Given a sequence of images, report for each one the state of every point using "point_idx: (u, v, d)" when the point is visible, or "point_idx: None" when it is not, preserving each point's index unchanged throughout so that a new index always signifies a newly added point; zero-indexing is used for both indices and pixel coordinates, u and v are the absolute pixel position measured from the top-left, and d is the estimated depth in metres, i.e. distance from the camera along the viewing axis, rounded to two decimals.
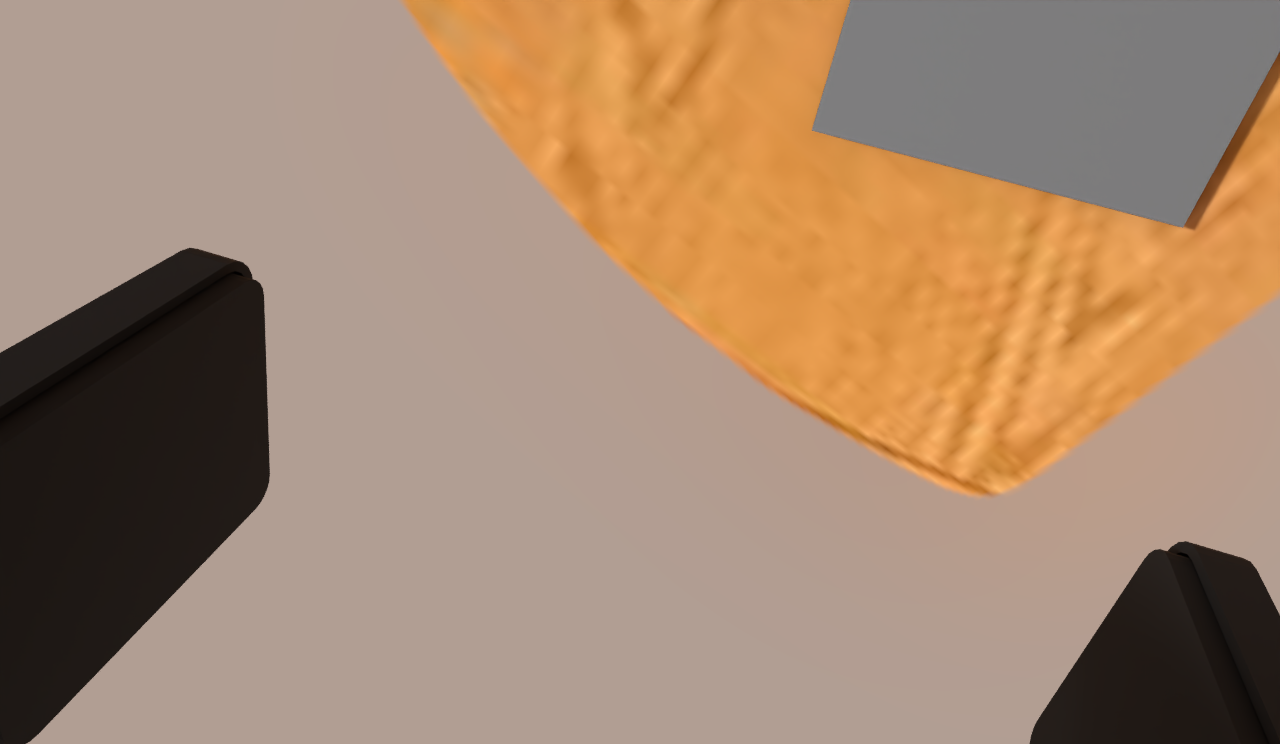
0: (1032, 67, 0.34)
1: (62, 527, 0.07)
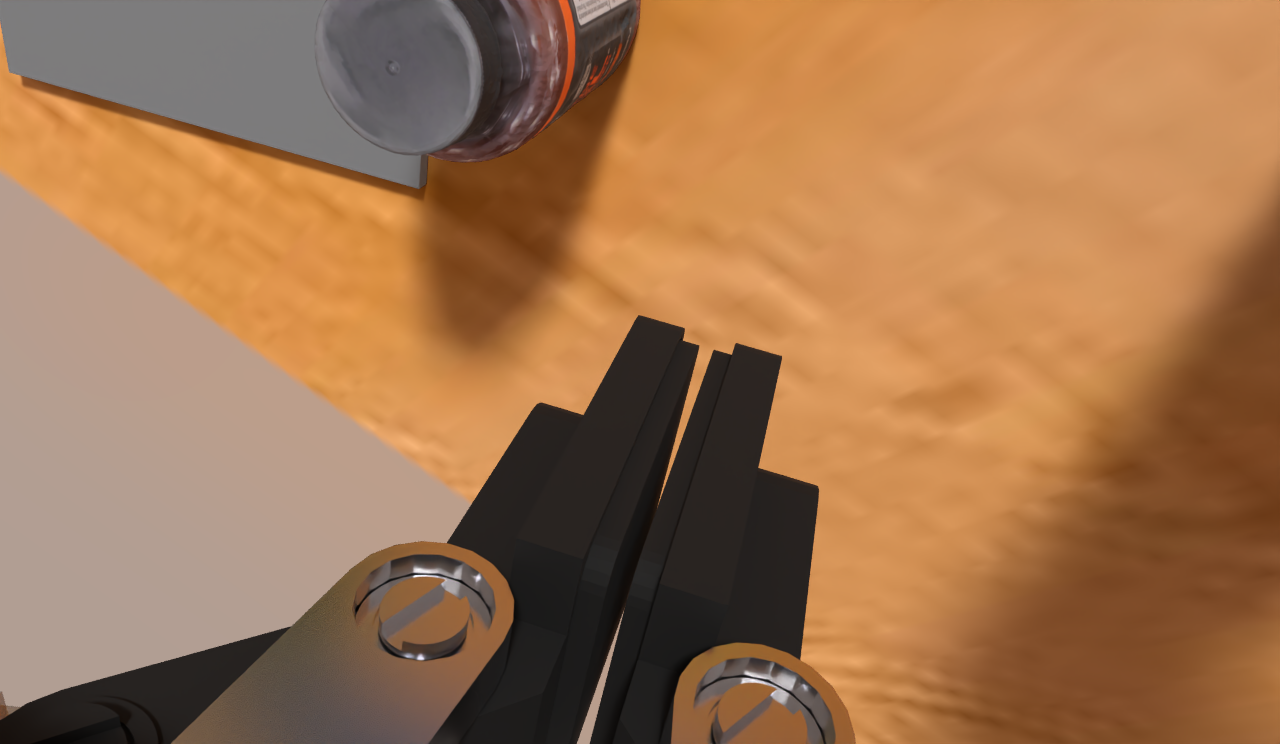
0: None
1: (617, 588, 0.08)
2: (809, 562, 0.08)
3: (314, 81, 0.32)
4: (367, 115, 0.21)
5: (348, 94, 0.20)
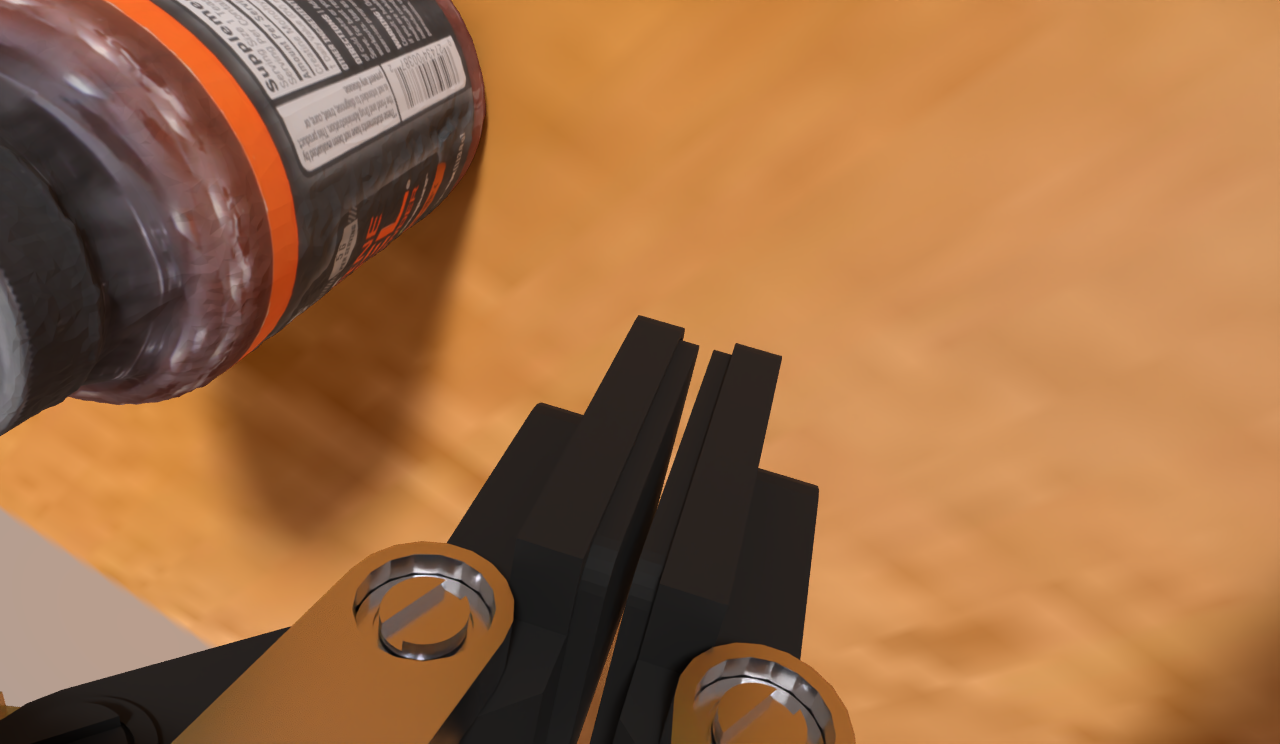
0: None
1: (617, 588, 0.08)
2: (809, 562, 0.08)
3: None
4: None
5: None
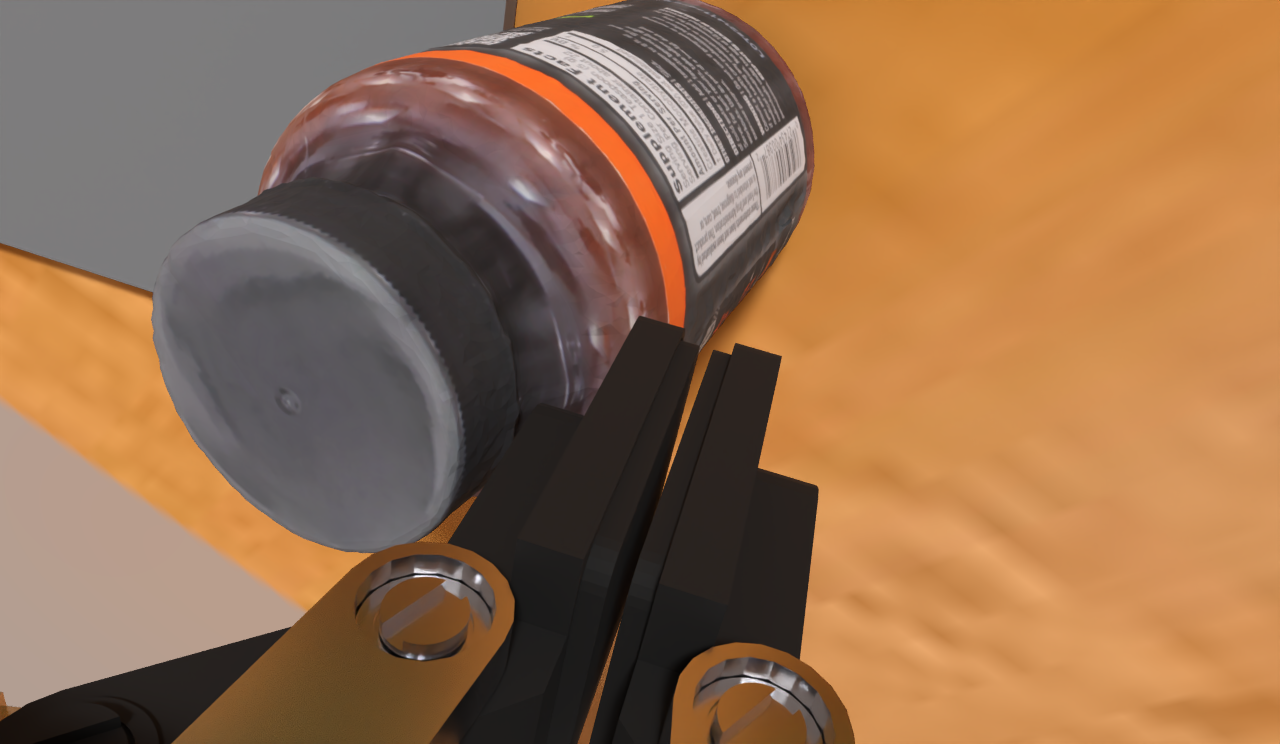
0: None
1: (617, 588, 0.08)
2: (809, 562, 0.08)
3: None
4: (248, 469, 0.10)
5: (214, 428, 0.10)
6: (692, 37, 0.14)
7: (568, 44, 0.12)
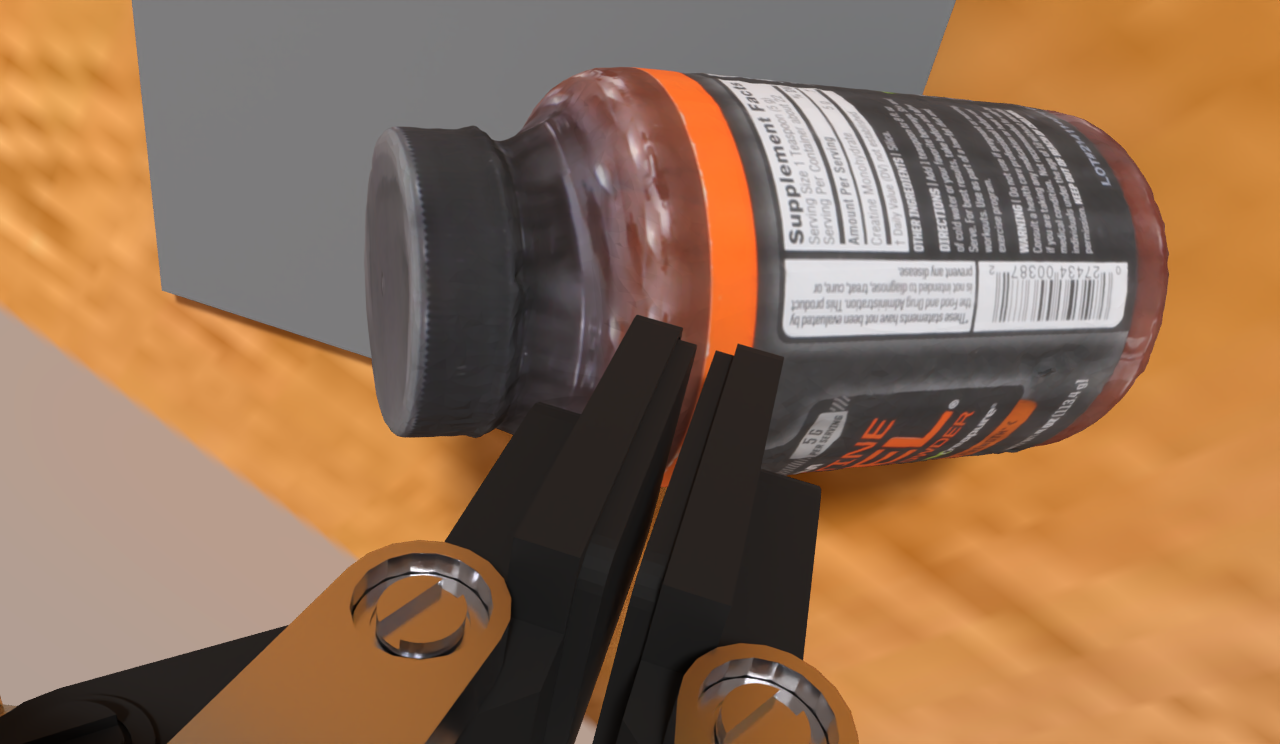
0: (308, 33, 0.20)
1: (614, 587, 0.08)
2: (811, 563, 0.08)
3: None
4: (372, 338, 0.13)
5: (368, 299, 0.13)
6: (991, 135, 0.13)
7: (793, 93, 0.12)
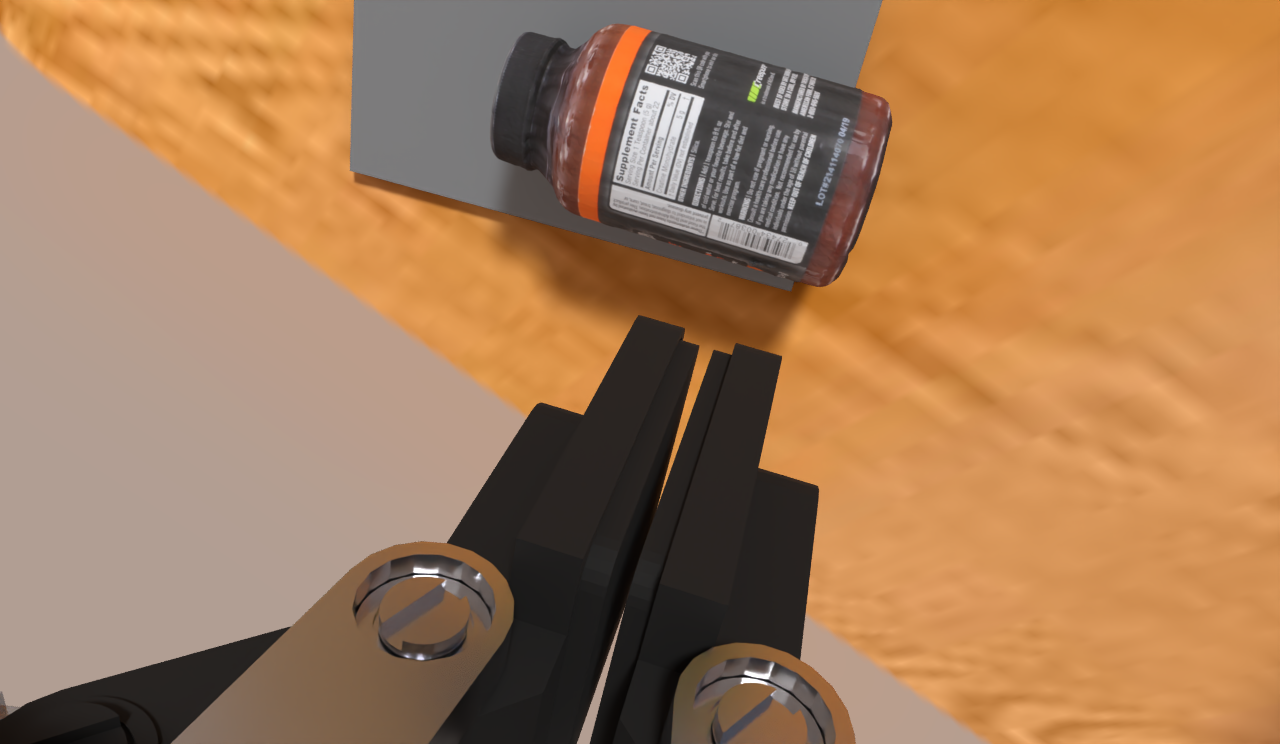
0: None
1: (616, 588, 0.08)
2: (809, 562, 0.08)
3: None
4: None
5: None
6: (767, 156, 0.25)
7: (670, 101, 0.25)
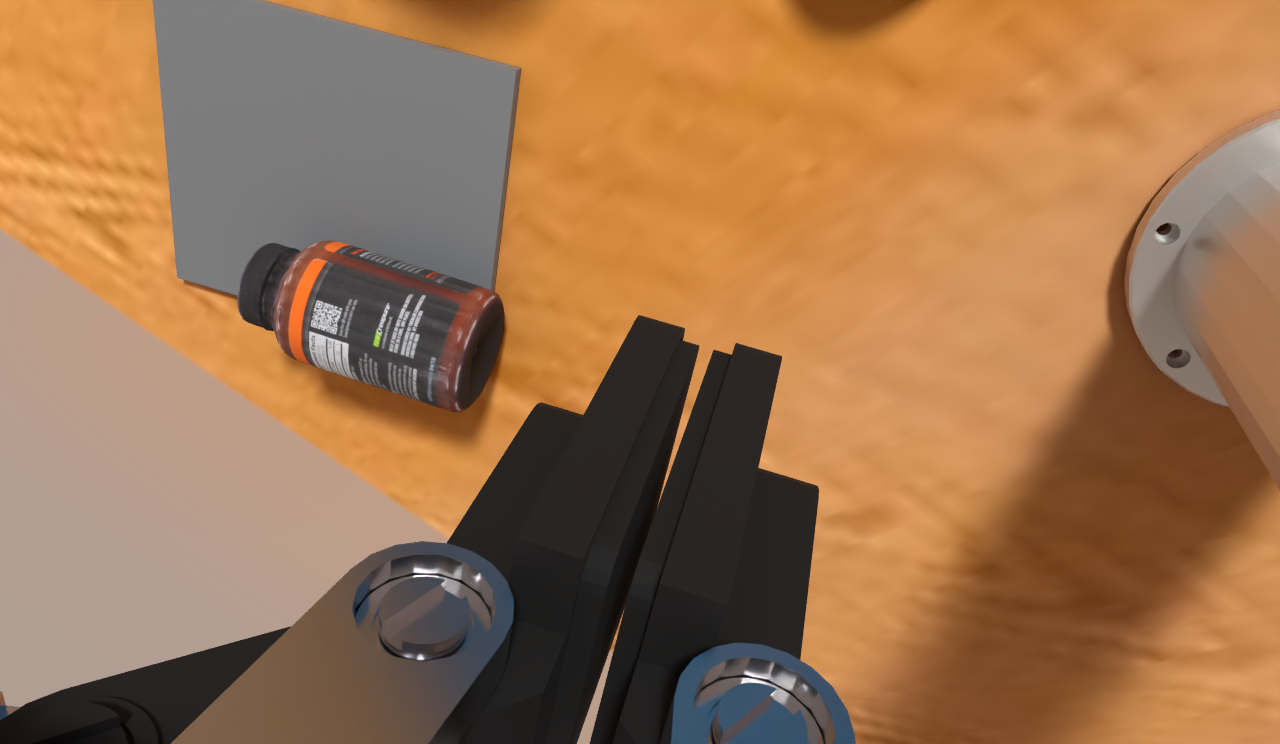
0: (247, 158, 0.43)
1: (617, 588, 0.08)
2: (809, 562, 0.08)
3: None
4: None
5: None
6: (392, 377, 0.40)
7: (329, 345, 0.40)
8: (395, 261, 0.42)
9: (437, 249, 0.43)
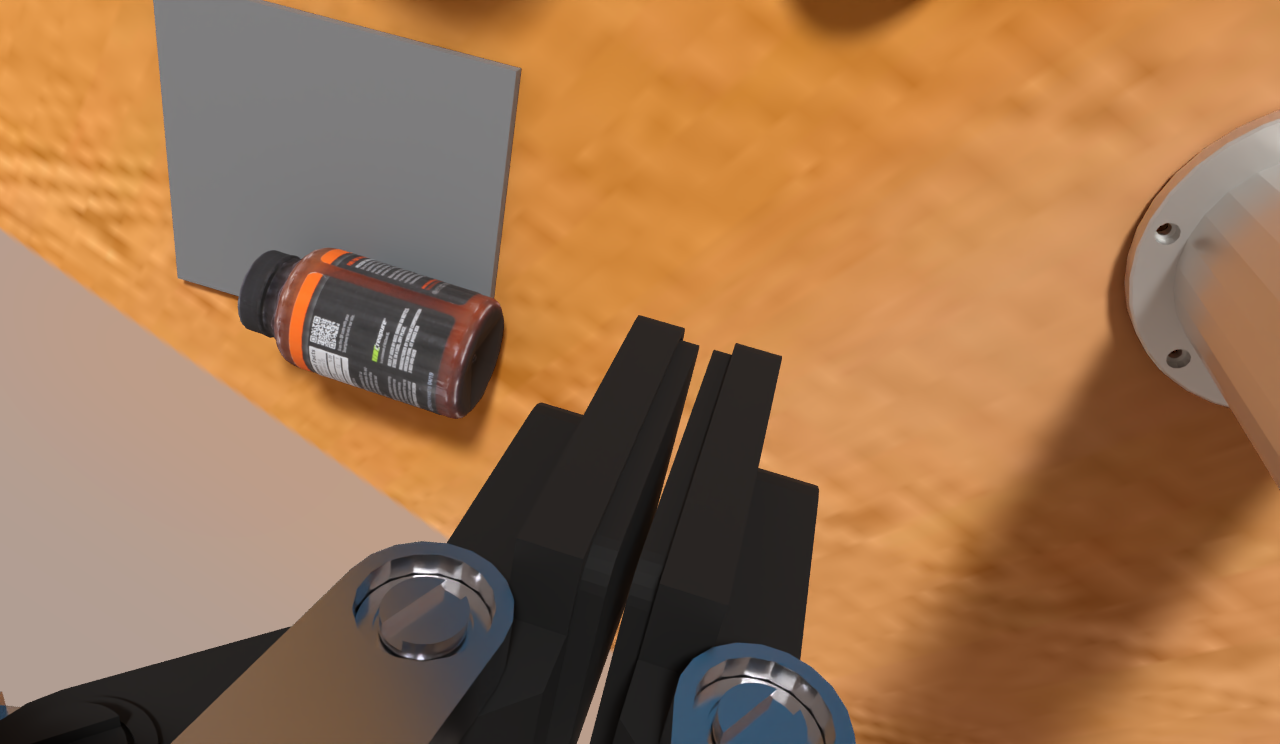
0: (247, 158, 0.43)
1: (617, 588, 0.08)
2: (809, 562, 0.08)
3: None
4: None
5: None
6: (393, 389, 0.41)
7: (330, 359, 0.41)
8: (391, 270, 0.42)
9: (437, 249, 0.43)
